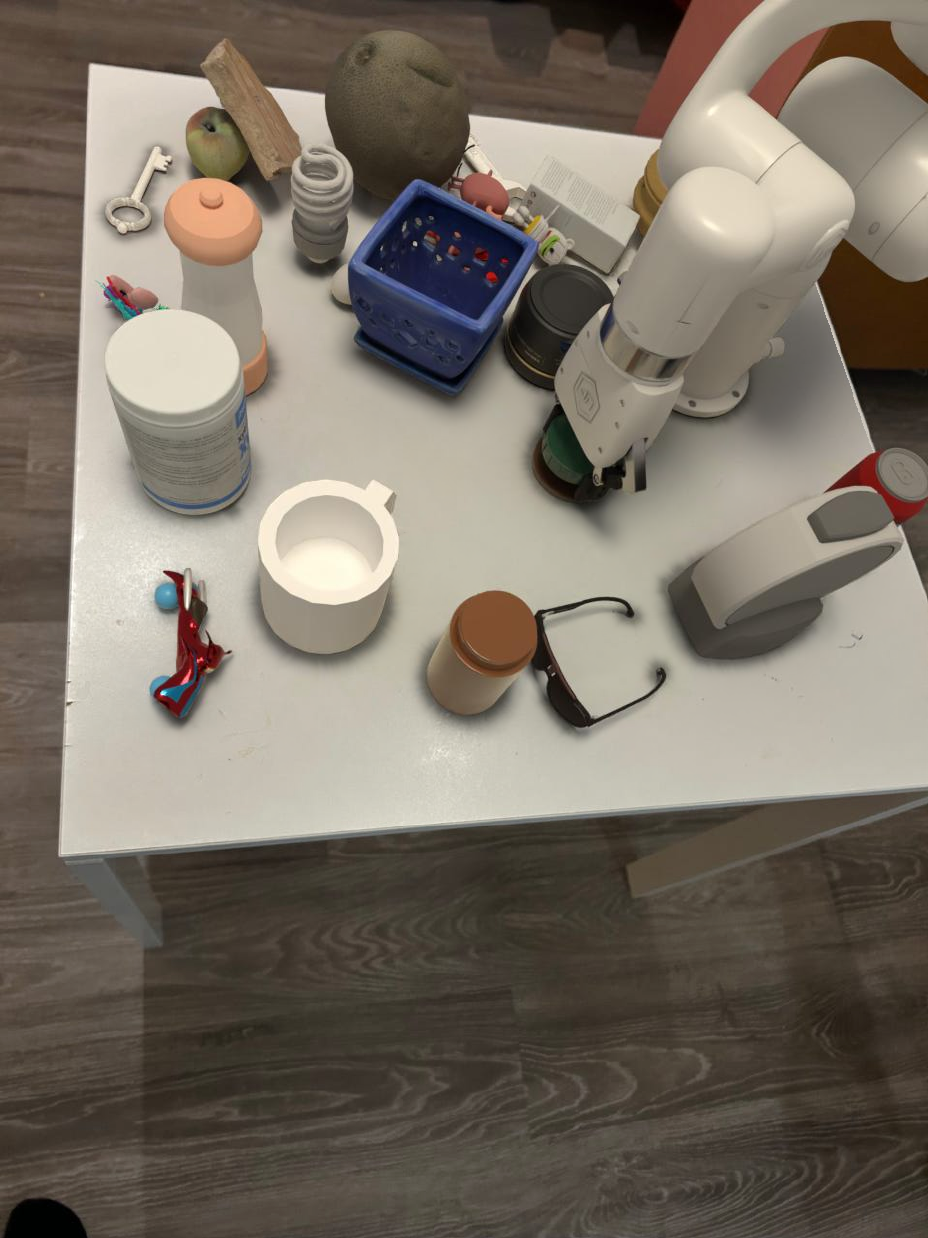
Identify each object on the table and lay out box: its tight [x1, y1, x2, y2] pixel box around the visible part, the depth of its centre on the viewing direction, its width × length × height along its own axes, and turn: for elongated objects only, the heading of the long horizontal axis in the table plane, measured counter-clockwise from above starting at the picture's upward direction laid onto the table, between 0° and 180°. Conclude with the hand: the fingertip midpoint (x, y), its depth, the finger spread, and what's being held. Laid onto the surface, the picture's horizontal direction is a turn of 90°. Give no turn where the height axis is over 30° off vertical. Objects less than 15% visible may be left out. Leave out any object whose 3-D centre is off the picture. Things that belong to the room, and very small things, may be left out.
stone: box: [199, 37, 307, 182], centre depth 81 cm, size 13×12×3 cm
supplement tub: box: [103, 308, 252, 516], centre depth 65 cm, size 10×10×15 cm
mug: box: [257, 479, 400, 655], centre depth 65 cm, size 14×10×11 cm
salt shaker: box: [163, 177, 269, 396], centre depth 67 cm, size 7×7×19 cm
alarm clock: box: [667, 486, 905, 660], centre depth 69 cm, size 16×10×18 cm, turn 110°
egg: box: [330, 261, 382, 306], centre depth 80 cm, size 4×6×4 cm
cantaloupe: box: [324, 29, 471, 201], centre depth 82 cm, size 14×14×15 cm
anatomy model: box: [94, 274, 170, 322], centre depth 72 cm, size 5×8×7 cm, turn 59°
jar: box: [504, 263, 615, 390], centre depth 81 cm, size 10×10×8 cm
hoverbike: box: [148, 567, 233, 719], centre depth 63 cm, size 5×12×6 cm
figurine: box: [425, 170, 510, 255], centre depth 86 cm, size 12×3×7 cm
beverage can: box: [821, 447, 928, 528], centre depth 77 cm, size 7×7×12 cm
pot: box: [632, 148, 669, 239], centre depth 90 cm, size 12×12×10 cm
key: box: [104, 145, 173, 234], centre depth 81 cm, size 12×1×4 cm
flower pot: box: [348, 179, 539, 396], centre depth 76 cm, size 13×13×12 cm
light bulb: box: [290, 142, 354, 264], centre depth 77 cm, size 6×6×12 cm
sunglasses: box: [530, 596, 667, 729], centre depth 70 cm, size 10×12×5 cm
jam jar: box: [426, 589, 537, 716], centre depth 64 cm, size 7×7×12 cm
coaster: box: [531, 435, 591, 504], centre depth 79 cm, size 8×8×1 cm
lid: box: [541, 413, 615, 485], centre depth 76 cm, size 7×7×2 cm
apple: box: [185, 106, 250, 182], centre depth 82 cm, size 6×8×6 cm
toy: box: [456, 145, 575, 267], centre depth 84 cm, size 7×3×15 cm
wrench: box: [464, 130, 528, 223], centre depth 92 cm, size 25×5×2 cm, turn 33°
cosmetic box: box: [515, 154, 640, 274], centre depth 88 cm, size 6×4×12 cm
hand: (573, 461), depth 78 cm, fingers closed on lid, 6 cm apart
